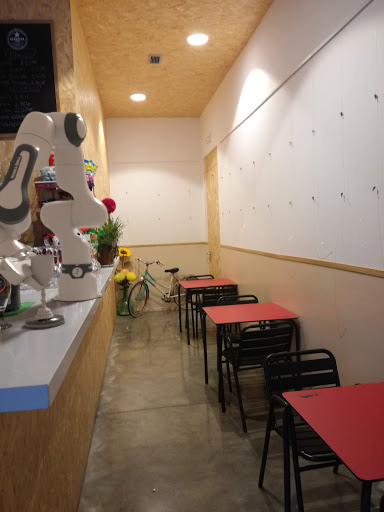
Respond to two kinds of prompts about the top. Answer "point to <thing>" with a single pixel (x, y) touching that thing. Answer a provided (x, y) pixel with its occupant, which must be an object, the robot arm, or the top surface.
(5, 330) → the top surface
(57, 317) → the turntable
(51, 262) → the chalice
